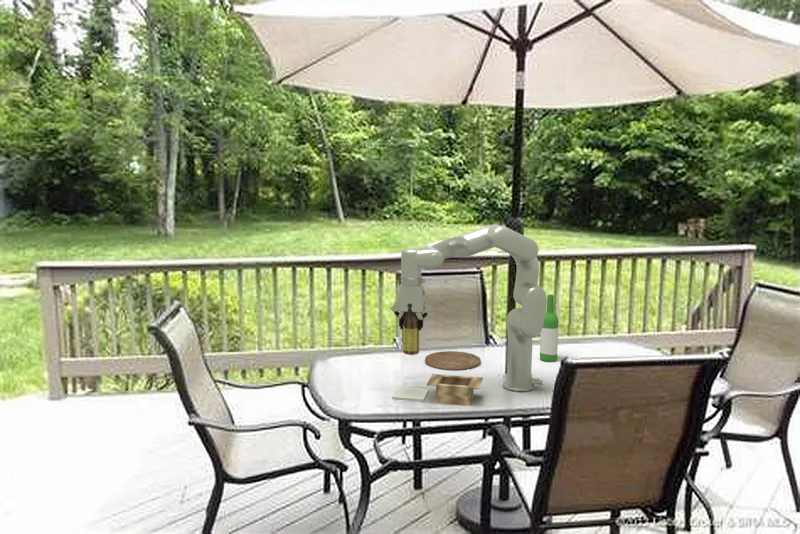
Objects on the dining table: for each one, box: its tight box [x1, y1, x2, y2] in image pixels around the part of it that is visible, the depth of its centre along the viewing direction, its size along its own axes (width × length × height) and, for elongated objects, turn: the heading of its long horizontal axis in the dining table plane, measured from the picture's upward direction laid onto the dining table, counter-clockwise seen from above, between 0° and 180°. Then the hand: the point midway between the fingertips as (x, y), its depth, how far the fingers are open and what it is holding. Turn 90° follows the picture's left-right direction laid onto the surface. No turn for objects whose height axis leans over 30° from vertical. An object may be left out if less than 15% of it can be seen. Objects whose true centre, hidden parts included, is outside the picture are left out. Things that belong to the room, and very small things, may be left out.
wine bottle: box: [539, 294, 559, 363], centre depth 291 cm, size 8×8×30 cm
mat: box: [391, 386, 430, 403], centre depth 245 cm, size 12×12×1 cm
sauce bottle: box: [402, 304, 420, 356], centre depth 242 cm, size 6×6×20 cm
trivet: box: [424, 350, 482, 372], centre depth 289 cm, size 25×25×2 cm
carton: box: [426, 373, 484, 406], centre depth 242 cm, size 20×13×7 cm, turn 78°
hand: (410, 328), depth 242 cm, fingers closed on sauce bottle, 6 cm apart
